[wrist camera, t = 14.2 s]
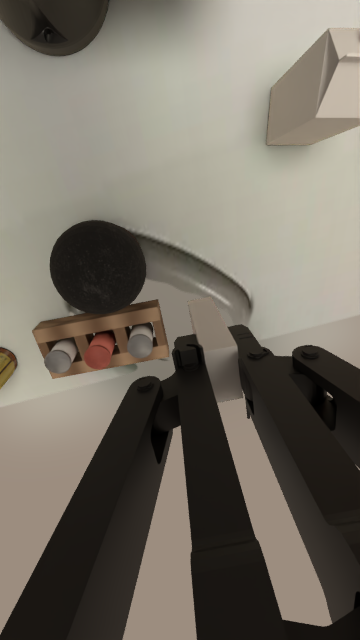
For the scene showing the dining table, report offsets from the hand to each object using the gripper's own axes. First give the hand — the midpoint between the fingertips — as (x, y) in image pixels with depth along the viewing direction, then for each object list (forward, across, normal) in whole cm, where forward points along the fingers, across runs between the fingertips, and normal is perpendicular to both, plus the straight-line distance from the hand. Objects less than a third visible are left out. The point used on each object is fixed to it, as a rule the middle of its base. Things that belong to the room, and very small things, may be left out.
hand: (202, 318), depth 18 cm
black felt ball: (+33, -12, 0) cm, 35 cm away
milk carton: (+33, +20, +15) cm, 41 cm away
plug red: (+30, -16, -14) cm, 37 cm away
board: (+32, -16, -14) cm, 39 cm away
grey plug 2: (+32, -9, -14) cm, 36 cm away
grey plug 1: (+32, -23, -14) cm, 41 cm away
